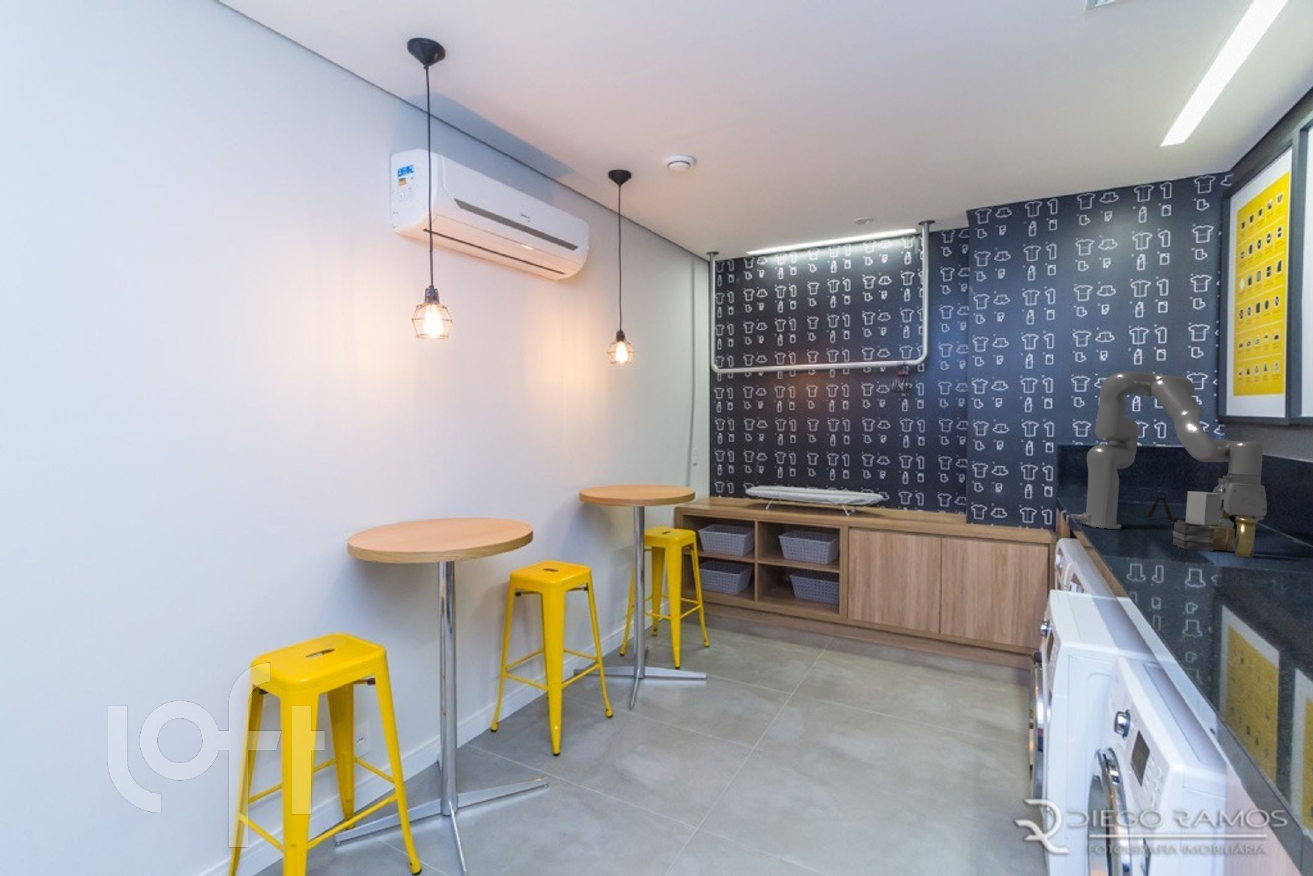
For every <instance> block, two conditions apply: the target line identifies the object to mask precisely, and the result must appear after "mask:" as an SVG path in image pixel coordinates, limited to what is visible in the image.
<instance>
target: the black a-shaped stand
mask: <svg viewBox="0 0 1313 876" xmlns="http://www.w3.org/2000/svg"><path fill="white" fill-rule="evenodd" d="M1161 492H1162V494H1164V496H1160V495H1159V494H1160V493H1161ZM1167 494H1168V493H1167V492H1166V491H1165V490H1163V491H1162V490H1158V491H1157V493H1156V498H1155V501H1154V503H1153V504H1152V505H1151V507H1150V509H1149V511H1148V513H1147V515H1146V517H1149V518H1152V517H1154V516H1153V515H1154V513H1155V510H1156V508H1157V506H1158V504H1159V502H1160V501H1163V505H1164V509H1165V514H1166V517H1167V518H1165V517H1160V518H1161V519H1162V518H1163V519H1167V520H1171V521H1174V522H1175V517H1174V515H1173V512H1172V510H1171V508H1170V504H1169V502H1168V500H1167ZM1146 517H1145V518H1146Z"/></svg>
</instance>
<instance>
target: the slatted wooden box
mask: <svg viewBox="0 0 1313 876" xmlns="http://www.w3.org/2000/svg"><path fill="white" fill-rule="evenodd" d="M1173 523H1174V524H1173V526H1174V527H1173V531H1178V532H1181V533H1183V534H1190V535H1202V536H1214V532H1215V529H1214V528H1211V527H1208V526H1206V525H1203V524H1190V523H1188V522H1186V520H1185V521H1184V520H1182V519H1177V520H1176V521H1174V522H1173ZM1172 537H1173V538H1172V539H1173V540H1172V545H1173V544H1174V545H1173V546H1175V545H1177V546H1178V547H1177V546H1176V547H1177V548H1180V547H1181V548H1180V549H1182V548H1183V550H1185V549H1186V551H1187V550H1188V551H1197V550H1199V551H1200V552H1208V551H1210V553H1212V552H1214V549H1213V545H1214V544H1212V543H1205V542H1192V541H1183V540H1181V539H1178V538H1176V537H1174V536H1172ZM1199 551H1198V552H1199Z"/></svg>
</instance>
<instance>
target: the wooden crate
mask: <svg viewBox="0 0 1313 876" xmlns="http://www.w3.org/2000/svg"><path fill="white" fill-rule="evenodd" d="M1208 527H1211V528H1214V529H1215V532H1214V536H1202V535H1190V534H1183V533H1181V532H1178V531H1176V530H1173V531H1172V537H1176V538H1178V539H1181V540H1183V541H1192V542H1205V543H1212V544H1214V545H1213V550H1216V551H1218V550H1219V551H1226V552H1234V549H1235V548H1234V547H1235V546H1234V544H1235V537H1236V536H1235V529H1233V528H1234V527H1233V528H1230V527H1213V526H1208Z"/></svg>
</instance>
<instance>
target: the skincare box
mask: <svg viewBox="0 0 1313 876" xmlns="http://www.w3.org/2000/svg"><path fill="white" fill-rule="evenodd" d="M1186 499H1187V500H1186V509H1185V510H1186V513H1185V522H1188V523H1190V524H1203V525H1206V526H1213V527H1219V522H1220V500H1221V494H1219V493H1213V492H1206V491H1189V490H1188V491H1187V497H1186Z"/></svg>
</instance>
